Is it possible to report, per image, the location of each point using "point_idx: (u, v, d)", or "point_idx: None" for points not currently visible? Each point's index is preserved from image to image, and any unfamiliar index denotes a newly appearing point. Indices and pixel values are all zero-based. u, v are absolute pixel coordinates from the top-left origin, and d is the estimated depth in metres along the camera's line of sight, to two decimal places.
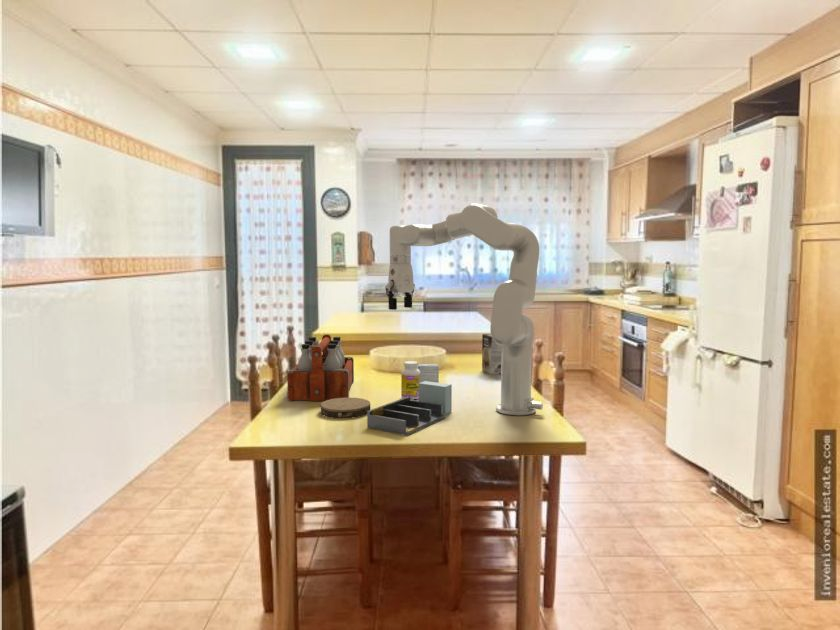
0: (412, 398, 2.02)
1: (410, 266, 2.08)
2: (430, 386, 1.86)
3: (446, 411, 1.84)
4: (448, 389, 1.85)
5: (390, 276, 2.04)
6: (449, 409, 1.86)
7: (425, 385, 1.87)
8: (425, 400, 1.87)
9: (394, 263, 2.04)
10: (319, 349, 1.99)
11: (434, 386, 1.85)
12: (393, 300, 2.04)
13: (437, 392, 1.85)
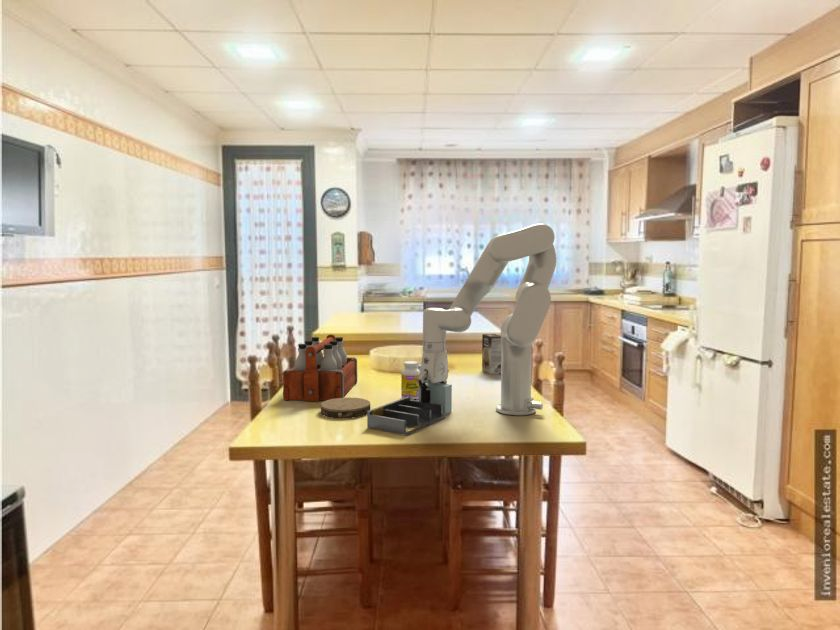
0: (412, 398, 2.02)
1: (445, 352, 1.87)
2: (430, 386, 1.86)
3: (446, 411, 1.84)
4: (448, 389, 1.85)
5: (423, 365, 1.83)
6: (449, 409, 1.86)
7: None
8: None
9: (428, 351, 1.83)
10: (313, 349, 1.99)
11: (434, 386, 1.85)
12: (426, 392, 1.82)
13: (437, 392, 1.85)
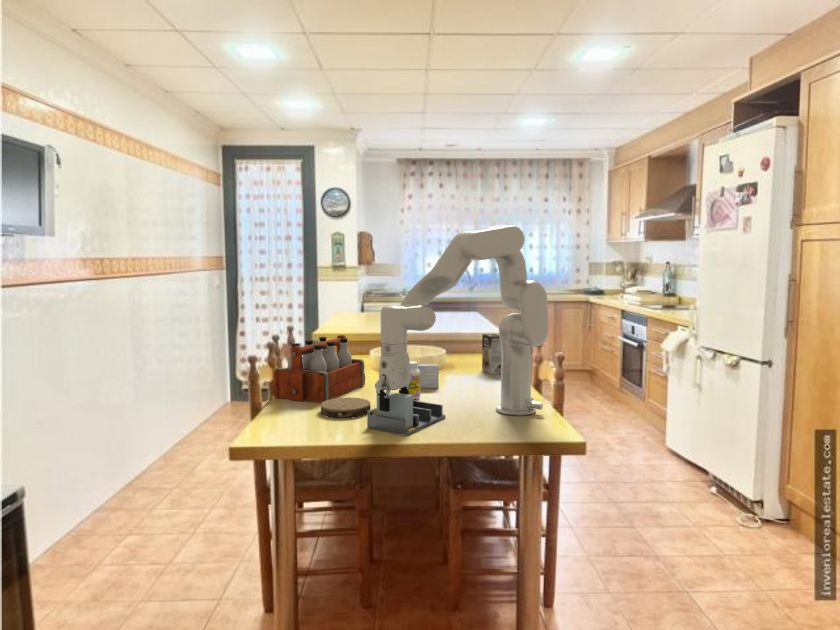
0: None
1: (406, 355, 1.68)
2: (389, 397, 1.67)
3: (406, 425, 1.65)
4: (409, 400, 1.66)
5: (381, 370, 1.64)
6: (410, 423, 1.67)
7: None
8: (384, 413, 1.68)
9: (386, 353, 1.64)
10: (297, 349, 1.99)
11: (393, 397, 1.66)
12: (385, 400, 1.63)
13: (396, 404, 1.66)
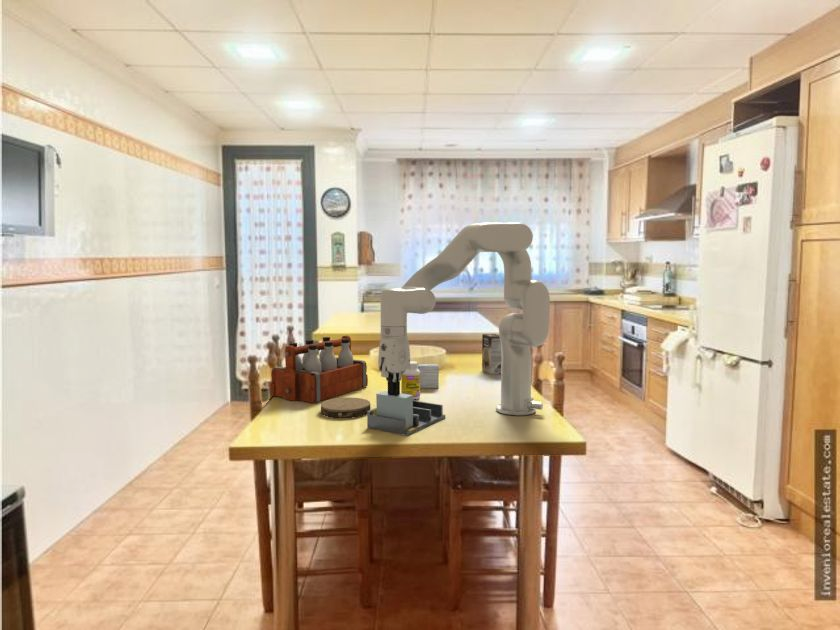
0: None
1: (406, 338, 1.67)
2: (389, 397, 1.67)
3: (406, 425, 1.65)
4: (408, 400, 1.66)
5: (381, 352, 1.63)
6: (410, 423, 1.67)
7: (383, 396, 1.68)
8: (383, 413, 1.68)
9: (386, 336, 1.63)
10: (290, 349, 2.00)
11: (393, 397, 1.66)
12: (393, 384, 1.66)
13: (396, 404, 1.66)
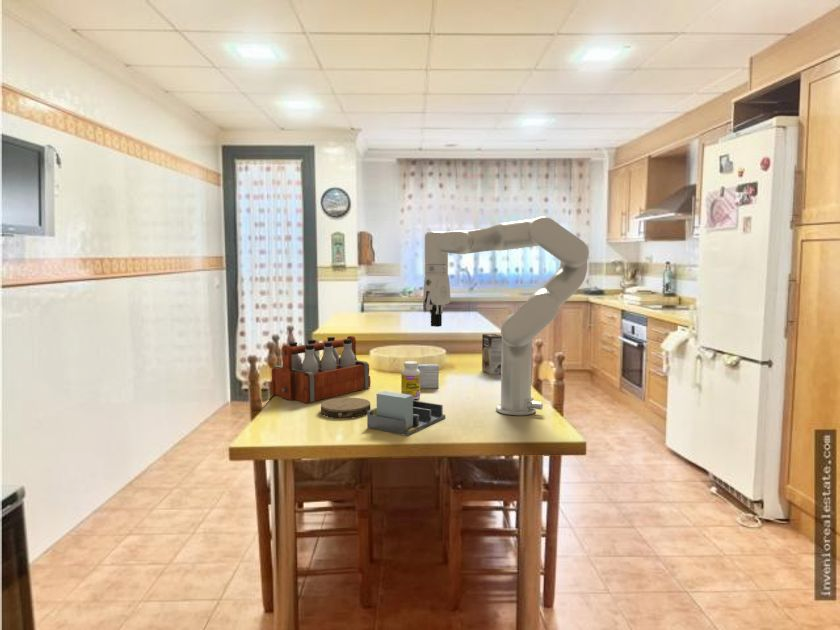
0: None
1: (447, 276, 1.89)
2: (389, 397, 1.67)
3: (406, 425, 1.65)
4: (409, 400, 1.66)
5: (426, 287, 1.85)
6: (410, 423, 1.67)
7: (383, 396, 1.68)
8: (384, 413, 1.68)
9: (430, 273, 1.85)
10: (286, 348, 2.01)
11: (393, 397, 1.66)
12: (436, 316, 1.88)
13: (396, 404, 1.66)
